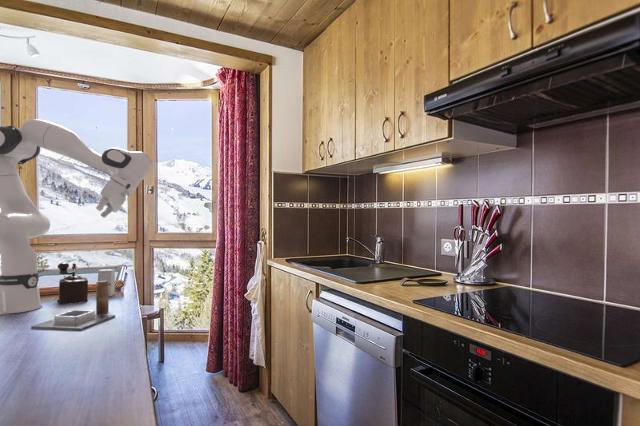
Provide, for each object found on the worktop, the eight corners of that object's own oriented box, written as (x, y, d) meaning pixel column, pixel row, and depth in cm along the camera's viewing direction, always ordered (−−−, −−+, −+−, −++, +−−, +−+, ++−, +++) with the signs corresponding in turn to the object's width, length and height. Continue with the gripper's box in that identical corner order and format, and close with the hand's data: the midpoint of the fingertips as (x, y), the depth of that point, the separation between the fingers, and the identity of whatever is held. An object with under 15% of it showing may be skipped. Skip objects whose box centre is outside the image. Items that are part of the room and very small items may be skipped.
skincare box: (96, 296, 168) (97, 270, 168) (101, 294, 172) (101, 269, 172) (111, 296, 169) (111, 270, 169) (115, 294, 173) (115, 268, 173)
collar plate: (31, 328, 119) (31, 318, 119) (70, 315, 135) (70, 306, 135) (80, 330, 117) (80, 320, 117) (115, 317, 133) (115, 308, 133)
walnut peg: (93, 314, 137) (93, 282, 138) (101, 311, 141) (101, 280, 141) (103, 314, 137) (103, 282, 137) (110, 311, 141) (111, 280, 141)
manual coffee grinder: (56, 300, 160) (57, 259, 161) (86, 297, 167) (86, 258, 167) (57, 307, 148) (57, 263, 148) (89, 303, 154) (89, 261, 155)
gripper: (119, 190, 157) (97, 216, 151) (112, 172, 139) (87, 201, 133) (132, 198, 158) (111, 224, 152) (127, 181, 140) (103, 210, 134)
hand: (100, 213), depth 142 cm, fingers open, 8 cm apart
